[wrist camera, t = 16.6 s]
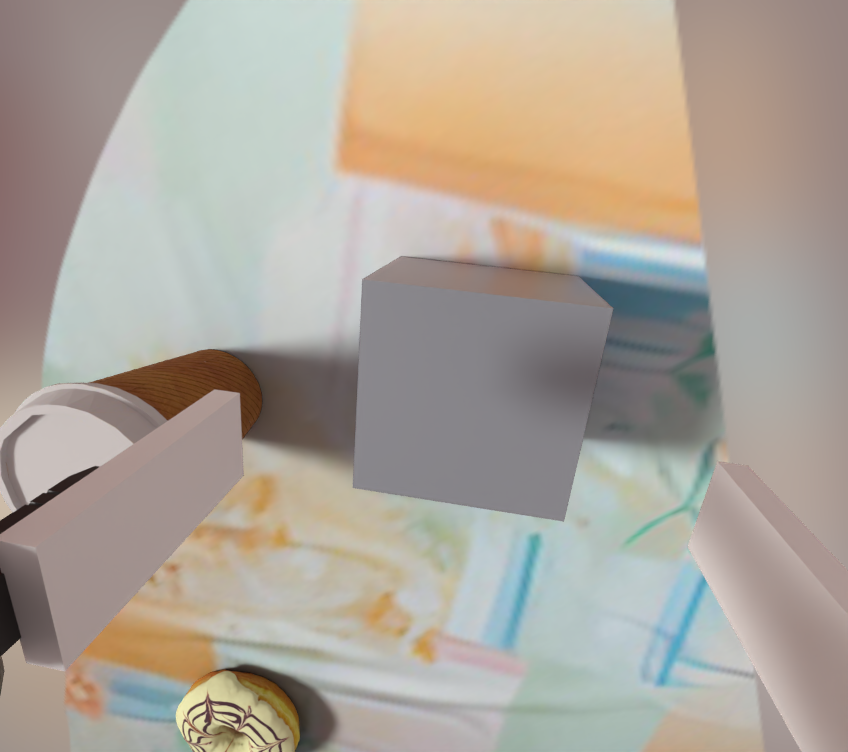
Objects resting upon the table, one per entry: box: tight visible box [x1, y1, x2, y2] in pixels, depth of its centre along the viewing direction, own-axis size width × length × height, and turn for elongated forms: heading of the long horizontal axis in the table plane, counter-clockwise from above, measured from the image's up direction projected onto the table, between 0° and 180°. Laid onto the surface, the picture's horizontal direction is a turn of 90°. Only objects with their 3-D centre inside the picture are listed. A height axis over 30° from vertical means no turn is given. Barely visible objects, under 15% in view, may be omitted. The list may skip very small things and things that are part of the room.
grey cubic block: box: [353, 256, 613, 521], centre depth 26 cm, size 10×10×9 cm
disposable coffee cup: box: [0, 349, 262, 513], centre depth 28 cm, size 10×10×12 cm
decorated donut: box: [176, 670, 300, 752], centre depth 42 cm, size 10×11×4 cm
